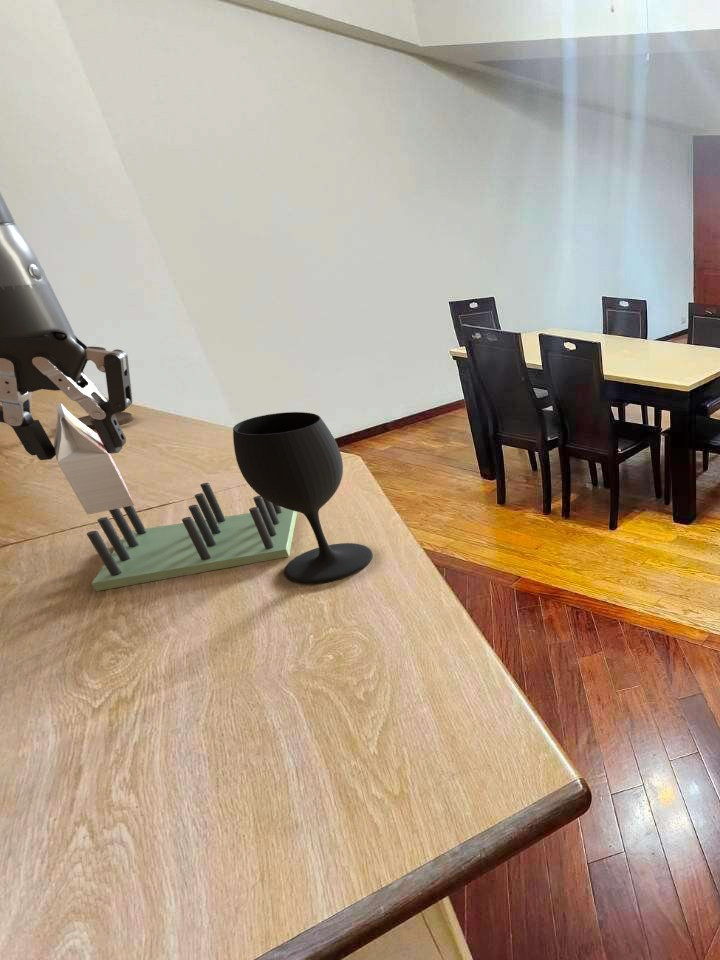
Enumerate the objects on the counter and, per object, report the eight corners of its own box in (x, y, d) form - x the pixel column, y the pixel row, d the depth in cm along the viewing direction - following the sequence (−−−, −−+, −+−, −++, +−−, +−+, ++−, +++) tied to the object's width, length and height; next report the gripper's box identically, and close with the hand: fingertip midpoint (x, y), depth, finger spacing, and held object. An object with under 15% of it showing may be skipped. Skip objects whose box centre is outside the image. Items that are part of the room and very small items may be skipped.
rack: (96, 591, 73) (65, 541, 70) (130, 538, 84) (105, 492, 81) (289, 556, 82) (270, 510, 78) (297, 512, 93) (281, 470, 90)
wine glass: (363, 579, 78) (314, 434, 68) (272, 589, 75) (206, 439, 65) (380, 541, 86) (338, 408, 76) (299, 549, 84) (244, 411, 74)
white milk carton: (87, 514, 62) (34, 422, 57) (81, 494, 66) (32, 406, 61) (134, 505, 64) (87, 415, 59) (126, 485, 68) (82, 400, 63)
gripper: (105, 274, 60) (177, 435, 68) (-106, 273, 54) (3, 451, 62) (79, 283, 54) (161, 457, 63) (-160, 283, 48) (-33, 477, 57)
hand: (82, 453), depth 62 cm, fingers closed on white milk carton, 4 cm apart
